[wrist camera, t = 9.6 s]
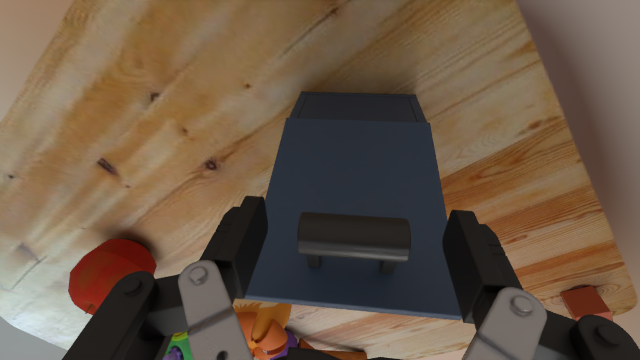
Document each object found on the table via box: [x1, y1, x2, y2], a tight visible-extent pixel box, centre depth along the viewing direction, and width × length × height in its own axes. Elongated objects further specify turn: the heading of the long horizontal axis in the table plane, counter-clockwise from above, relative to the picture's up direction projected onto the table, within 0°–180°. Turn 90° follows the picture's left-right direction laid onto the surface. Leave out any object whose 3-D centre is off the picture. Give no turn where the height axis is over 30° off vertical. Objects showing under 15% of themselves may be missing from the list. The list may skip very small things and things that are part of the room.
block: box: [560, 286, 613, 322], centre depth 43 cm, size 4×4×4 cm
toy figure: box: [232, 299, 292, 360], centre depth 40 cm, size 12×8×15 cm
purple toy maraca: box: [267, 331, 367, 360], centre depth 59 cm, size 6×6×20 cm
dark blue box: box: [289, 92, 427, 123], centre depth 32 cm, size 14×12×7 cm
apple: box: [68, 239, 157, 315], centre depth 45 cm, size 10×10×12 cm
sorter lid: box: [244, 118, 462, 320], centre depth 18 cm, size 14×12×5 cm
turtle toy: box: [162, 331, 193, 360], centre depth 59 cm, size 17×23×12 cm
